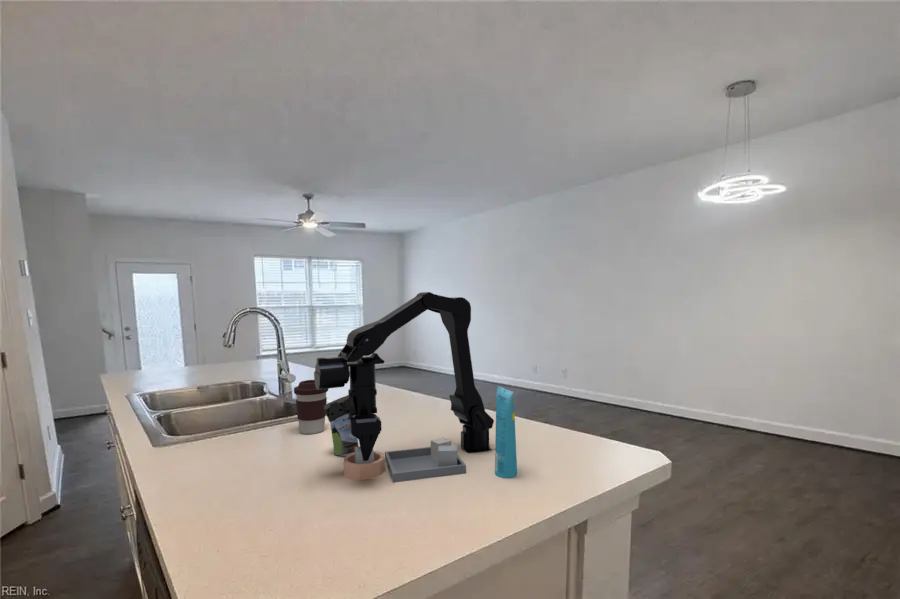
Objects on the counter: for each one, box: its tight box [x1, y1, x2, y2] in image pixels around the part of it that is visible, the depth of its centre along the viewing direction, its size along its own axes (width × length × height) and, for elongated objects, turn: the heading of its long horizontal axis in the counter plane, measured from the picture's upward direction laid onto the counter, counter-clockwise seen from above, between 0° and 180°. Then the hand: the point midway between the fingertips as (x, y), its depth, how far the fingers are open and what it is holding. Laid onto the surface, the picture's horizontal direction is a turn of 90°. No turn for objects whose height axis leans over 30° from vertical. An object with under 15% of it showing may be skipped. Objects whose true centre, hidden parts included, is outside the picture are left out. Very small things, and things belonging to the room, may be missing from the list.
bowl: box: [343, 450, 386, 481], centre depth 100 cm, size 9×9×4 cm
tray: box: [384, 446, 467, 483], centre depth 102 cm, size 16×14×2 cm
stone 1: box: [355, 446, 375, 464], centre depth 99 cm, size 4×4×5 cm
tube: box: [494, 385, 518, 479], centre depth 97 cm, size 7×5×19 cm, turn 26°
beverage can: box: [329, 414, 360, 457], centre depth 112 cm, size 6×7×12 cm
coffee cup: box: [293, 379, 329, 435], centre depth 133 cm, size 10×10×15 cm
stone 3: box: [438, 444, 458, 467], centre depth 100 cm, size 4×4×5 cm
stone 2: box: [430, 436, 452, 462], centre depth 106 cm, size 4×3×4 cm
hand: (364, 453), depth 100 cm, fingers open, 9 cm apart
